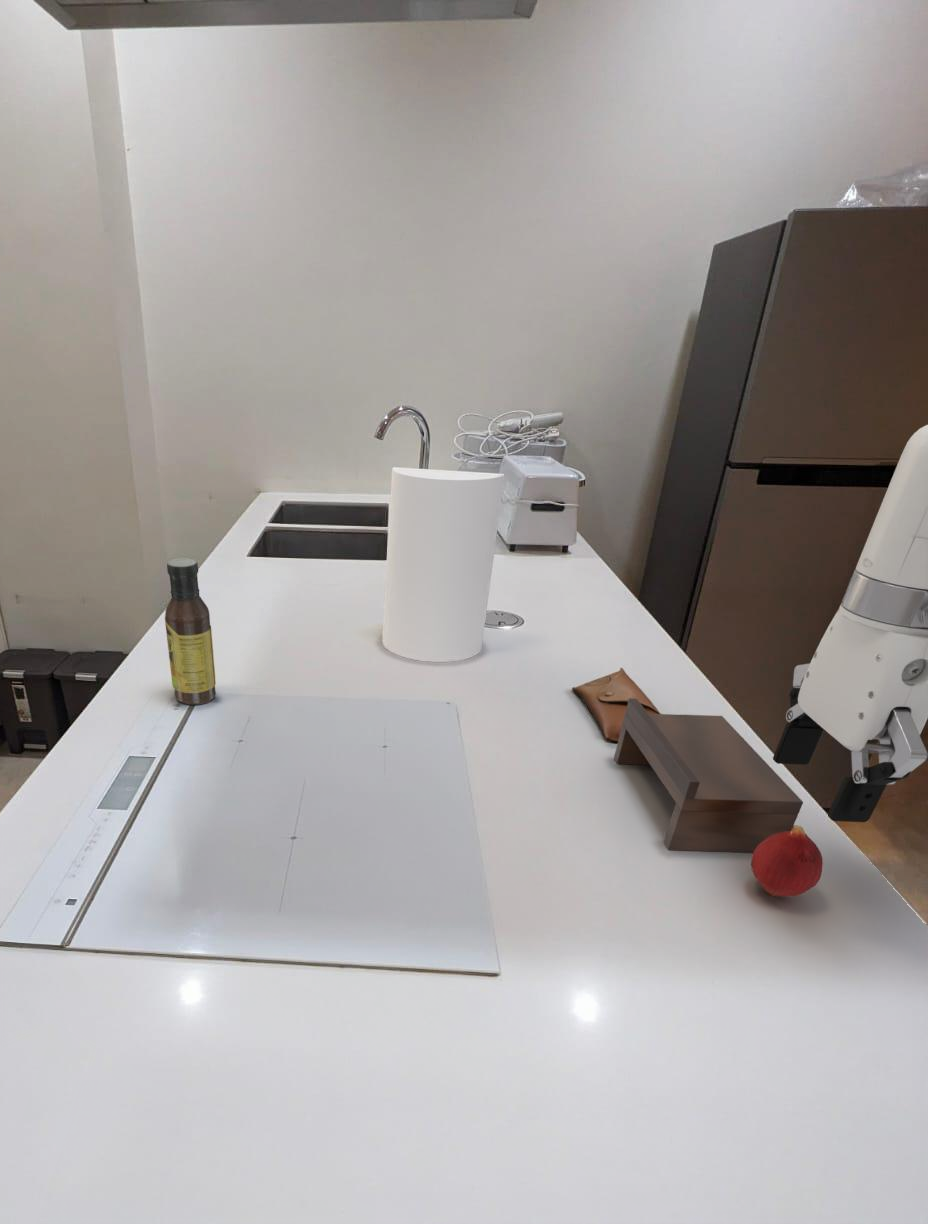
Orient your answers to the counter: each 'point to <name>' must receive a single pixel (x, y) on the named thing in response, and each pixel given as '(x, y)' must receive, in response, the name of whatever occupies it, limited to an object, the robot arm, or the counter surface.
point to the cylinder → (439, 562)
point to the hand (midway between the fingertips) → (816, 789)
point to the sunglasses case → (612, 701)
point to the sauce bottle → (189, 636)
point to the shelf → (708, 780)
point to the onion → (787, 863)
